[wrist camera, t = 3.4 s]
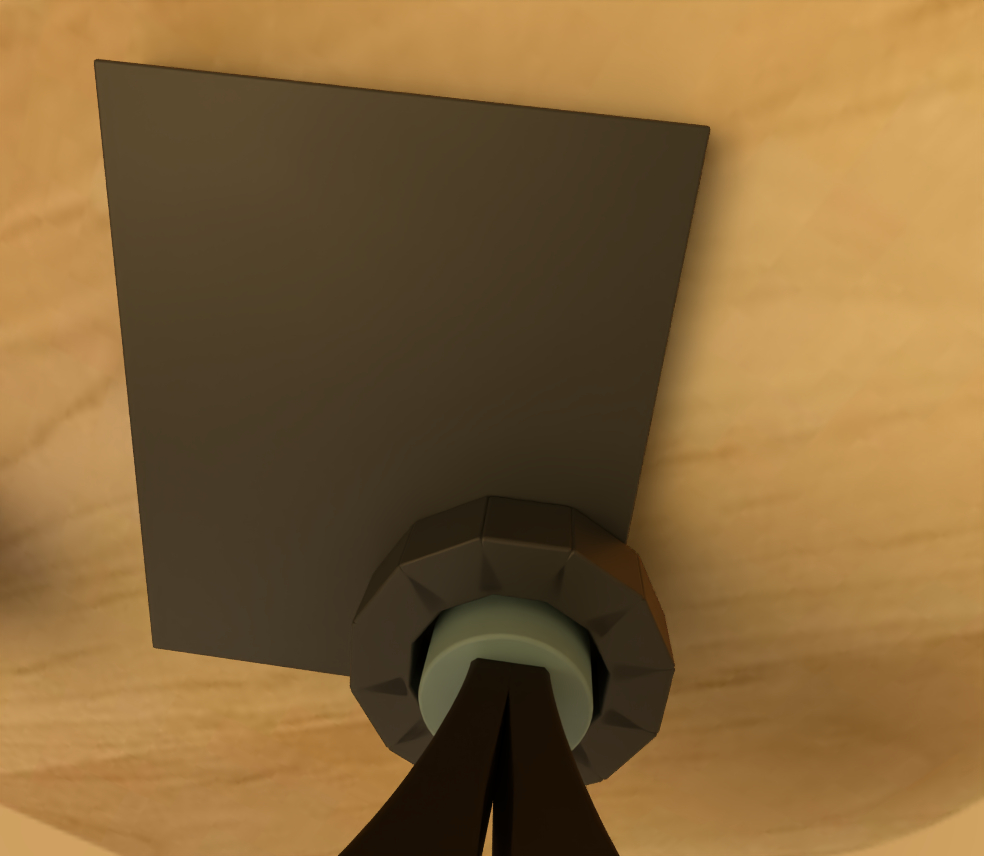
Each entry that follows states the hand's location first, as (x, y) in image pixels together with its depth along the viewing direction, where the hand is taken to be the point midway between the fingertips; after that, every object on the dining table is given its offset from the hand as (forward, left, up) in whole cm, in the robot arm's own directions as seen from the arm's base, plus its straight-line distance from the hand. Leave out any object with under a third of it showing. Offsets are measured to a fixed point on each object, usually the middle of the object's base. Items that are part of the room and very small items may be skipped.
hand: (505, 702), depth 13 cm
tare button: (0, 0, -2) cm, 2 cm away
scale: (+4, +3, -4) cm, 6 cm away
